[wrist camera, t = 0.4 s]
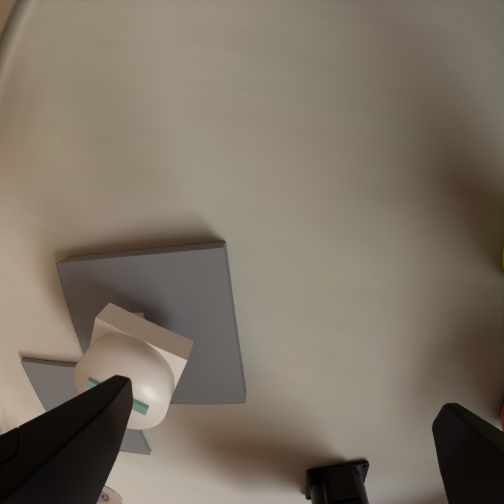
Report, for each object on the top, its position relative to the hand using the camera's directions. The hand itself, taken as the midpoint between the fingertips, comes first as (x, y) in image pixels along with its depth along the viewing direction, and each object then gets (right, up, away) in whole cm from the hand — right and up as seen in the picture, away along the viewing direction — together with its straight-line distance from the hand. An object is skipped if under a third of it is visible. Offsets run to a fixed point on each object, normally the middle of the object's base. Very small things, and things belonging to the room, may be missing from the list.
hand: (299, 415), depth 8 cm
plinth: (-8, -1, +15) cm, 17 cm away
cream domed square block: (-8, -2, +11) cm, 14 cm away
